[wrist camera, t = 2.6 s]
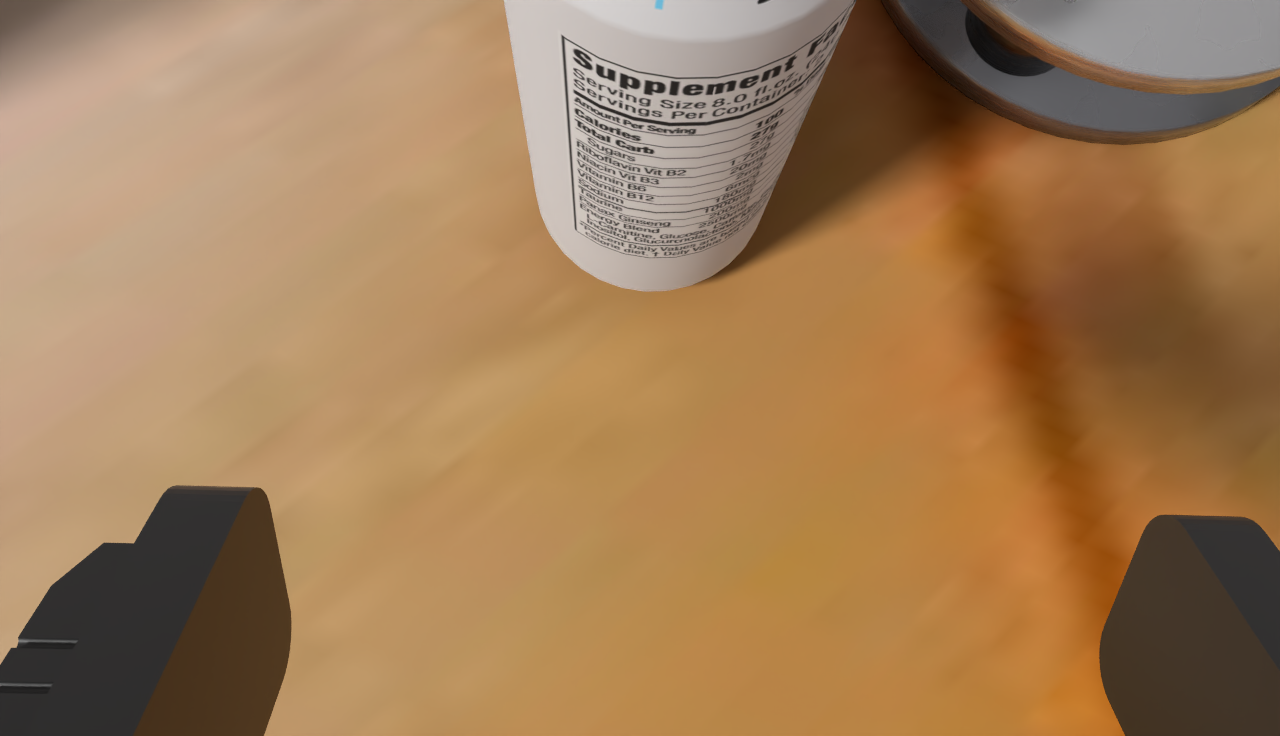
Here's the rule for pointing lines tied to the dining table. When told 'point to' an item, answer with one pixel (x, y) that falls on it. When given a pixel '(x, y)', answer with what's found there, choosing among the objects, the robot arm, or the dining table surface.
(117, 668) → the robot arm
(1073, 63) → the stand
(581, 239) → the energy drink can
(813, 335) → the dining table surface
